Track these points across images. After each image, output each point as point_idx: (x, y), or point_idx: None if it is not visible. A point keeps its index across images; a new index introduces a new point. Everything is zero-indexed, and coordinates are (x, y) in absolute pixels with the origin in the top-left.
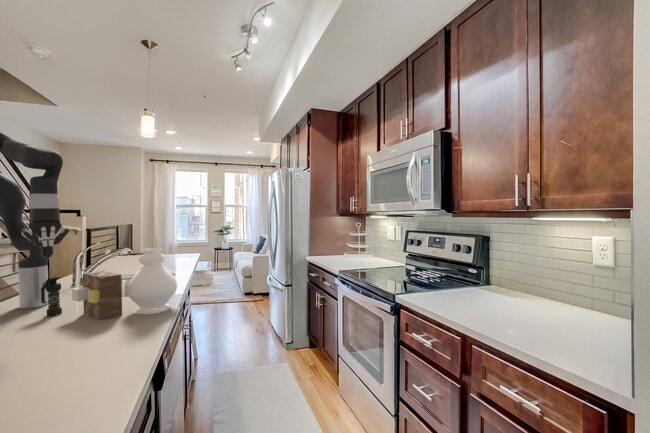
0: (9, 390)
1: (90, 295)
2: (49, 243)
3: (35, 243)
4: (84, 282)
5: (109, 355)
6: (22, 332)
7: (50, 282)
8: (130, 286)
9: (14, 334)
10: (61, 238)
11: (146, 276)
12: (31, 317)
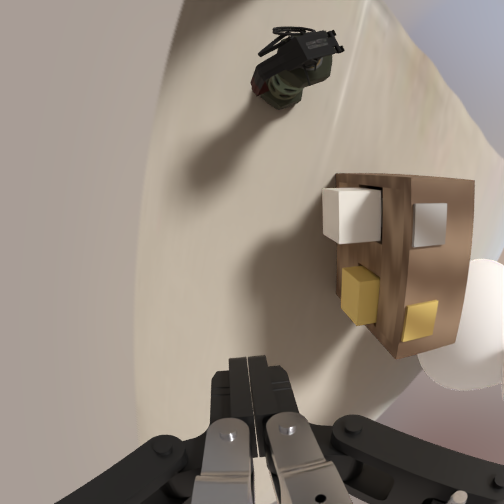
0: None
1: (350, 296)
2: (274, 480)
3: (161, 495)
4: (389, 193)
5: (254, 469)
6: (174, 217)
7: (295, 68)
8: None
9: (157, 219)
10: (386, 490)
11: (467, 384)
12: (226, 65)
